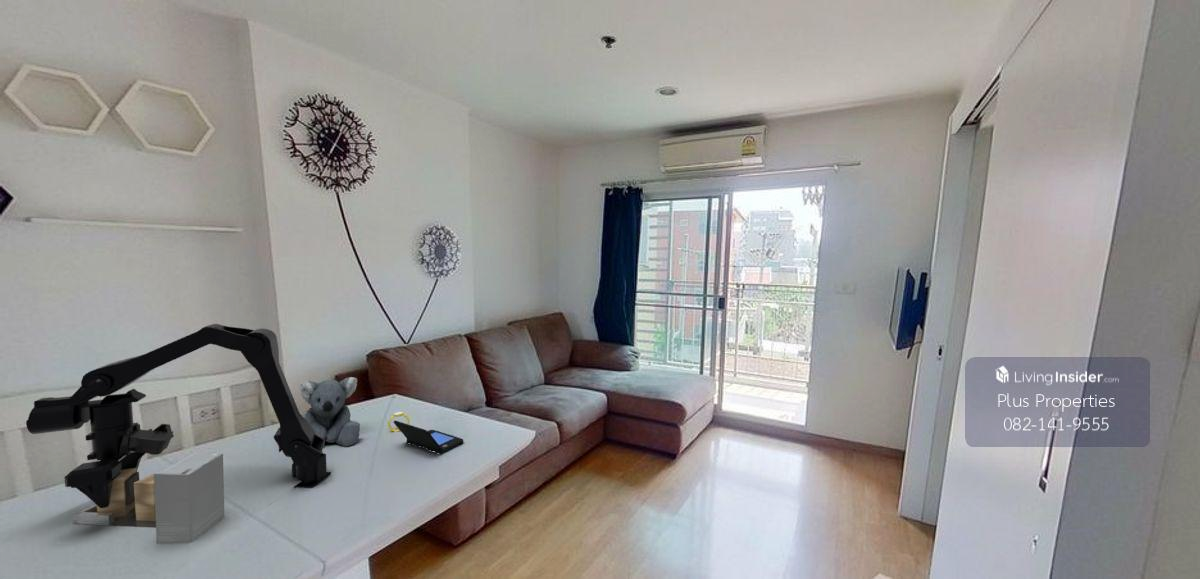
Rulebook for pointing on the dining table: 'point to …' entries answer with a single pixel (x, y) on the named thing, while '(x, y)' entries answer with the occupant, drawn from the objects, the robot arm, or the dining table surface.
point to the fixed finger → (145, 499)
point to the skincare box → (189, 497)
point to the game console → (428, 438)
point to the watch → (397, 416)
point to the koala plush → (331, 410)
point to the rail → (110, 519)
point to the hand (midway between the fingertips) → (117, 495)
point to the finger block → (122, 494)
